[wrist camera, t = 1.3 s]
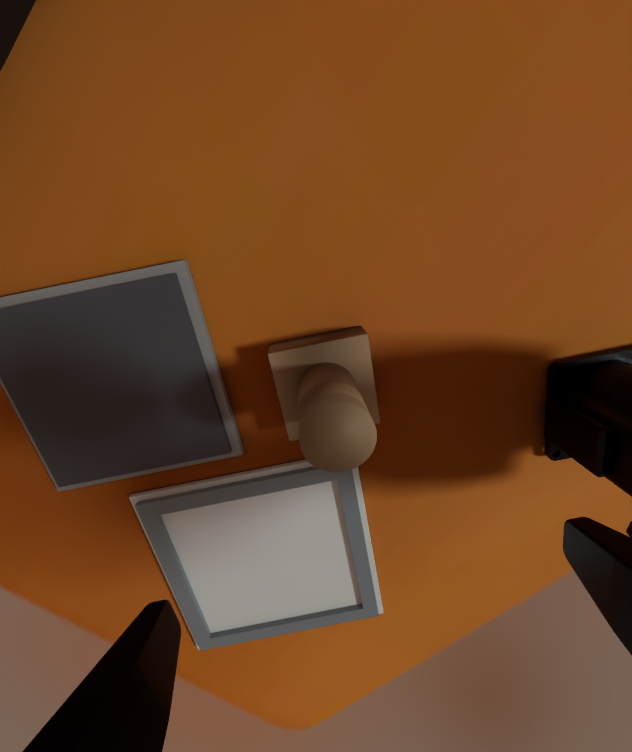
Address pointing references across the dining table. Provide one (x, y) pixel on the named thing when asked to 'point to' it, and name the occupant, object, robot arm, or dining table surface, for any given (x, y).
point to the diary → (12, 23)
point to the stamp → (328, 396)
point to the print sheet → (263, 551)
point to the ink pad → (116, 376)
